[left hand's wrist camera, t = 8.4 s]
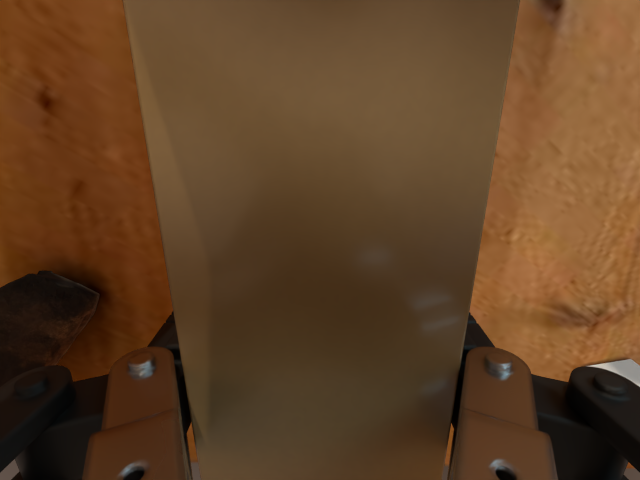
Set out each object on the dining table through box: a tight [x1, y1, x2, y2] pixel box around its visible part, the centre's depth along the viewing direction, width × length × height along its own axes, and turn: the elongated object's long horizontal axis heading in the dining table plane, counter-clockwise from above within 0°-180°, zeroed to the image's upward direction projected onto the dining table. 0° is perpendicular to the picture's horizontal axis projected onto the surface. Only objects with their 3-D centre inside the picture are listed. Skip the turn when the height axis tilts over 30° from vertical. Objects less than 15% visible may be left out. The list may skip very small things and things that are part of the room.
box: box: [123, 0, 520, 480], centre depth 10 cm, size 24×6×12 cm, turn 0°
